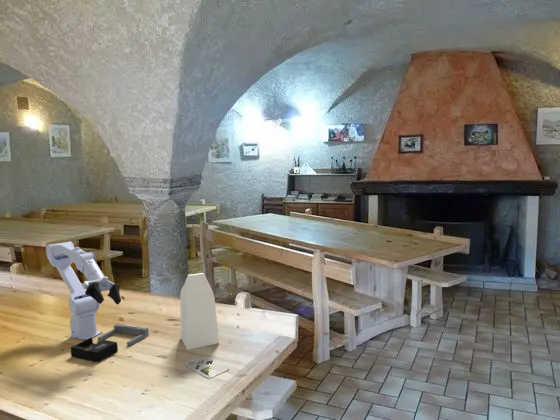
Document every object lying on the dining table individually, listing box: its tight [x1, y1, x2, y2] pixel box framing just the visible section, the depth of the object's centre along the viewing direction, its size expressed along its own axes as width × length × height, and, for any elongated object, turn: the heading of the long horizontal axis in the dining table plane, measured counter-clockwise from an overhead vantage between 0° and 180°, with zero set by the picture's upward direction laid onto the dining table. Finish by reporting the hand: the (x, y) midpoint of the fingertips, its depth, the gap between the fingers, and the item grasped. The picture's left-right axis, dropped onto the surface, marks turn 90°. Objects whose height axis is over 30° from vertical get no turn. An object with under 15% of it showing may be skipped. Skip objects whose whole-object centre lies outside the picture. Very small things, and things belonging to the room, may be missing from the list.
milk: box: [179, 272, 220, 351], centre depth 176 cm, size 12×12×26 cm
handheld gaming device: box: [184, 355, 214, 379], centre depth 155 cm, size 9×1×15 cm
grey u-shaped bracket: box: [97, 323, 150, 347], centre depth 182 cm, size 15×11×3 cm
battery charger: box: [70, 337, 119, 363], centre depth 168 cm, size 13×10×4 cm
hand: (110, 302), depth 167 cm, fingers open, 7 cm apart
